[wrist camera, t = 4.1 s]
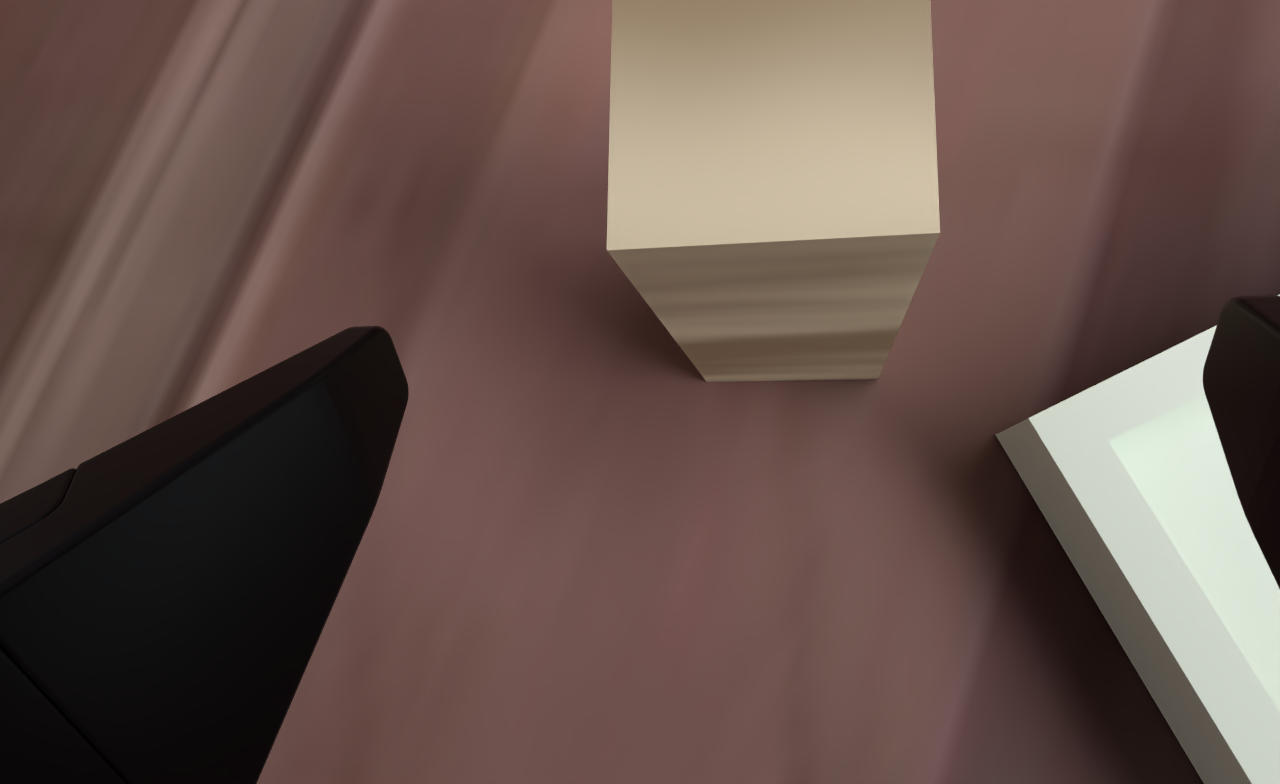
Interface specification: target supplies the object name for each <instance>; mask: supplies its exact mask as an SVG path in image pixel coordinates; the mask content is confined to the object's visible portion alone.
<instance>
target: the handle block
mask: <svg viewBox="0 0 1280 784" xmlns="http://www.w3.org/2000/svg"><path fill="white" fill-rule="evenodd" d="M939 234H940V220H939V196H938V172H937V148H936V124H935V100H934V76H933V52H932V28H931V4H930V0H613V1H612V44H611V87H610V130H609V173H608V216H607V251H608V253H609V254H610V255H611V257H612V258H613V259H614V261H615V262H616V263H617V265H618V266H619V267H620V268H621V270H622V271H623V272H624V274H625V275H626V276H627V278H628V279H629V280H630V282H631V283H632V284H633V286H634V287H635V288H636V290H637V291H638V292H639V293H640V295H641V296H642V297H643V299H644V300H645V301H646V303H647V304H648V305H649V307H650V308H651V309H652V311H653V312H654V313H655V315H656V316H657V317H658V318H659V320H660V321H661V322H662V324H663V325H664V326H665V328H666V329H667V330H668V332H669V333H670V334H671V336H672V337H673V338H674V340H675V341H676V342H677V343H678V345H679V346H680V347H681V349H682V350H683V351H684V353H685V354H686V355H687V357H688V358H689V359H690V361H691V362H692V363H693V365H694V366H695V367H696V368H697V370H698V371H699V372H700V374H701V375H702V376H703V378H704V379H705V380H706V382H742V381H795V380H849V379H878V377H879V375H880V373H881V370H882V368H883V366H884V363H885V361H886V359H887V356H888V354H889V352H890V349H891V347H892V345H893V342H894V340H895V337H896V335H897V333H898V330H899V328H900V326H901V323H902V321H903V319H904V316H905V314H906V312H907V309H908V307H909V305H910V302H911V300H912V298H913V295H914V293H915V290H916V288H917V286H918V283H919V281H920V279H921V276H922V274H923V272H924V269H925V267H926V265H927V262H928V260H929V258H930V255H931V253H932V250H933V248H934V246H935V243H936V241H937V239H938V236H939Z"/></svg>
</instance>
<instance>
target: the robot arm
mask: <svg viewBox="0 0 1280 784" xmlns="http://www.w3.org/2000/svg"><path fill="white" fill-rule="evenodd" d="M1203 388H1204V392H1205V395H1206V398H1207V402H1208V405H1209V408H1210V411H1211V414H1212V417H1213V420H1214V423H1215V426H1216V430H1217V433H1218V436H1219V439H1220V442H1221V445H1222V448H1223V451H1224V454H1225V458H1226V461H1227V464H1228V467H1229V470H1230V473H1231V476H1232V479H1233V482H1234V486H1235V489H1236V492H1237V495H1238V498H1239V500H1240V503H1241V506H1242V509H1243V511H1244V514H1245V516H1246V519H1247V521H1248V523H1249V525H1250V528H1251V530H1252V532H1253V534H1254V537H1255V539H1256V541H1257V543H1258V545H1259V547H1260V549H1261V551H1262V553H1263V555H1264V557H1265V560H1266V562H1267V564H1268V566H1269V568H1270V570H1271V572H1272V574H1273V576H1274V578H1275V580H1276V583H1277V585H1278V587H1279V589H1280V296H1275V295H1268V296H1241V297H1235V298H1233V299H1231V300H1230V301H1228V302H1227V303H1226V305H1225V306H1224V308H1223V309H1222V312H1221V314H1220V317H1219V320H1218V323H1217V327H1216V330H1215V333H1214V336H1213V339H1212V342H1211V345H1210V349H1209V352H1208V355H1207V358H1206V361H1205V364H1204V368H1203ZM407 402H408V384H407V380H406V377H405V374H404V372H403V369H402V366H401V363H400V361H399V358H398V355H397V352H396V350H395V347H394V344H393V341H392V339H391V337H390V335H389V333H388V332H387V331H386V330H385V329H384V328H382V327H379V326H363V327H351V328H348V329H345V330H343V331H342V332H340V333H338V334H336V335H334V336H332V337H330V338H328V339H326V340H324V341H322V342H320V343H318V344H316V345H314V346H312V347H310V348H308V349H306V350H304V351H302V352H300V353H298V354H296V355H294V356H292V357H290V358H288V359H286V360H284V361H282V362H280V363H278V364H276V365H274V366H273V367H271V368H269V369H267V370H265V371H263V372H261V373H259V374H257V375H255V376H253V377H251V378H249V379H247V380H245V381H243V382H241V383H239V384H237V385H235V386H233V387H231V388H229V389H227V390H225V391H223V392H221V393H219V394H217V395H215V396H213V397H211V398H209V399H207V400H206V401H204V402H202V403H200V404H198V405H196V406H194V407H192V408H190V409H188V410H186V411H184V412H182V413H180V414H178V415H176V416H174V417H172V418H170V419H168V420H166V421H164V422H162V423H160V424H158V425H156V426H154V427H152V428H150V429H148V430H146V431H144V432H142V433H140V434H138V435H137V436H135V437H133V438H131V439H129V440H127V441H125V442H123V443H121V444H119V445H117V446H115V447H113V448H111V449H109V450H107V451H105V452H103V453H101V454H99V455H97V456H95V457H93V458H91V459H89V460H87V461H85V462H83V463H81V464H80V465H79V466H78V468H77V469H74V468H72V469H69V470H67V471H65V472H63V473H61V474H59V475H57V476H55V477H53V478H51V479H49V480H48V481H46V482H44V483H42V484H40V485H38V486H36V487H34V488H32V489H30V490H27V491H25V492H23V493H21V494H19V495H17V496H15V497H13V498H11V499H9V500H7V501H5V502H3V503H1V504H0V784H256V783H257V781H258V779H259V776H260V774H261V772H262V769H263V767H264V765H265V762H266V760H267V758H268V755H269V753H270V751H271V748H272V746H273V744H274V741H275V739H276V737H277V735H278V732H279V730H280V728H281V725H282V723H283V721H284V718H285V716H286V714H287V711H288V709H289V707H290V704H291V702H292V700H293V697H294V695H295V693H296V690H297V688H298V686H299V683H300V681H301V679H302V676H303V674H304V672H305V670H306V667H307V665H308V663H309V660H310V658H311V656H312V653H313V651H314V649H315V646H316V644H317V642H318V639H319V637H320V635H321V632H322V630H323V628H324V625H325V623H326V621H327V618H328V616H329V614H330V611H331V609H332V607H333V604H334V602H335V600H336V598H337V595H338V593H339V591H340V588H341V586H342V584H343V581H344V579H345V577H346V574H347V572H348V570H349V567H350V565H351V563H352V560H353V558H354V556H355V553H356V551H357V549H358V546H359V544H360V542H361V539H362V537H363V535H364V532H365V530H366V528H367V526H368V523H369V521H370V518H371V516H372V513H373V511H374V508H375V506H376V503H377V500H378V497H379V494H380V491H381V489H382V486H383V482H384V479H385V476H386V472H387V469H388V466H389V462H390V459H391V456H392V452H393V449H394V446H395V442H396V439H397V436H398V432H399V429H400V426H401V422H402V419H403V416H404V412H405V409H406V406H407Z"/></svg>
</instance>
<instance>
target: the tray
mask: <svg viewBox="0 0 1280 784" xmlns="http://www.w3.org/2000/svg"><path fill="white" fill-rule="evenodd" d="M1277 296H1280V294H1279V295H1277ZM1216 327H1217V325H1216V326H1214V327H1212V328H1210V329H1208V330H1206V331H1204V332H1202V333H1200V334H1198V335H1196V336H1194V337H1192V338H1190V339H1188V340H1186V341H1184V342H1182V343H1180V344H1178V345H1176V346H1174V347H1172V348H1170V349H1168V350H1166V351H1164V352H1162V353H1159V354H1157V355H1155V356H1153V357H1151V358H1149V359H1147V360H1145V361H1143V362H1141V363H1139V364H1137V365H1135V366H1133V367H1131V368H1129V369H1127V370H1125V371H1123V372H1121V373H1119V374H1117V375H1115V376H1113V377H1111V378H1109V379H1107V380H1105V381H1103V382H1101V383H1099V384H1097V385H1095V386H1093V387H1090V388H1088V389H1086V390H1084V391H1082V392H1080V393H1078V394H1076V395H1074V396H1072V397H1070V398H1068V399H1066V400H1064V401H1062V402H1060V403H1058V404H1056V405H1054V406H1052V407H1050V408H1048V409H1046V410H1044V411H1042V412H1040V413H1038V414H1036V415H1034V416H1032V417H1030V418H1028V419H1026V420H1024V421H1022V422H1020V423H1018V424H1016V425H1014V426H1012V427H1010V428H1008V429H1006V430H1004V431H1002V432H1000V433H998V434H996V437H997V438H998V440H999V442H1000V443H1001V445H1002V447H1003V448H1004V450H1005V452H1006V453H1007V455H1008V457H1009V458H1010V460H1011V462H1012V463H1013V465H1014V467H1015V468H1016V470H1017V472H1018V474H1019V475H1020V477H1021V479H1022V480H1023V482H1024V484H1025V485H1026V487H1027V489H1028V490H1029V492H1030V494H1031V495H1032V497H1033V499H1034V500H1035V502H1036V504H1037V505H1038V507H1039V509H1040V510H1041V512H1042V514H1043V515H1044V517H1045V519H1046V520H1047V522H1048V524H1049V525H1050V527H1051V529H1052V530H1053V532H1054V534H1055V535H1056V537H1057V539H1058V540H1059V542H1060V544H1061V545H1062V547H1063V549H1064V550H1065V552H1066V554H1067V556H1068V557H1069V559H1070V561H1071V562H1072V564H1073V566H1074V567H1075V569H1076V571H1077V572H1078V574H1079V576H1080V577H1081V579H1082V581H1083V582H1084V584H1085V586H1086V587H1087V589H1088V591H1089V592H1090V594H1091V596H1092V597H1093V599H1094V601H1095V602H1096V604H1097V606H1098V607H1099V609H1100V611H1101V612H1102V614H1103V616H1104V617H1105V619H1106V621H1107V622H1108V624H1109V626H1110V627H1111V629H1112V631H1113V633H1114V634H1115V636H1116V638H1117V639H1118V641H1119V643H1120V644H1121V646H1122V648H1123V649H1124V651H1125V653H1126V654H1127V656H1128V658H1129V659H1130V661H1131V663H1132V664H1133V666H1134V668H1135V669H1136V671H1137V673H1138V674H1139V676H1140V678H1141V679H1142V681H1143V683H1144V684H1145V686H1146V688H1147V689H1148V691H1149V693H1150V694H1151V696H1152V698H1153V699H1154V701H1155V703H1156V704H1157V706H1158V708H1159V709H1160V711H1161V713H1162V715H1163V716H1164V718H1165V720H1166V721H1167V723H1168V725H1169V726H1170V728H1171V730H1172V731H1173V733H1174V735H1175V736H1176V738H1177V740H1178V741H1179V743H1180V745H1181V746H1182V748H1183V750H1184V751H1185V753H1186V755H1187V756H1188V758H1189V760H1190V761H1191V763H1192V765H1193V766H1194V768H1195V770H1196V771H1197V773H1198V775H1199V776H1200V778H1201V780H1202V781H1203V783H1204V784H1280V589H1279V587H1278V585H1277V583H1276V580H1275V578H1274V576H1273V574H1272V572H1271V570H1270V568H1269V566H1268V564H1267V562H1266V560H1265V557H1264V555H1263V553H1262V551H1261V549H1260V547H1259V545H1258V543H1257V541H1256V539H1255V537H1254V534H1253V532H1252V530H1251V528H1250V525H1249V523H1248V521H1247V519H1246V516H1245V514H1244V511H1243V509H1242V506H1241V503H1240V500H1239V498H1238V495H1237V492H1236V489H1235V486H1234V482H1233V479H1232V476H1231V473H1230V470H1229V467H1228V464H1227V461H1226V458H1225V454H1224V451H1223V448H1222V445H1221V442H1220V439H1219V436H1218V433H1217V430H1216V426H1215V423H1214V420H1213V417H1212V414H1211V411H1210V408H1209V405H1208V402H1207V398H1206V395H1205V392H1204V388H1203V368H1204V364H1205V361H1206V358H1207V355H1208V352H1209V349H1210V345H1211V342H1212V339H1213V336H1214V333H1215V330H1216Z"/></svg>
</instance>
